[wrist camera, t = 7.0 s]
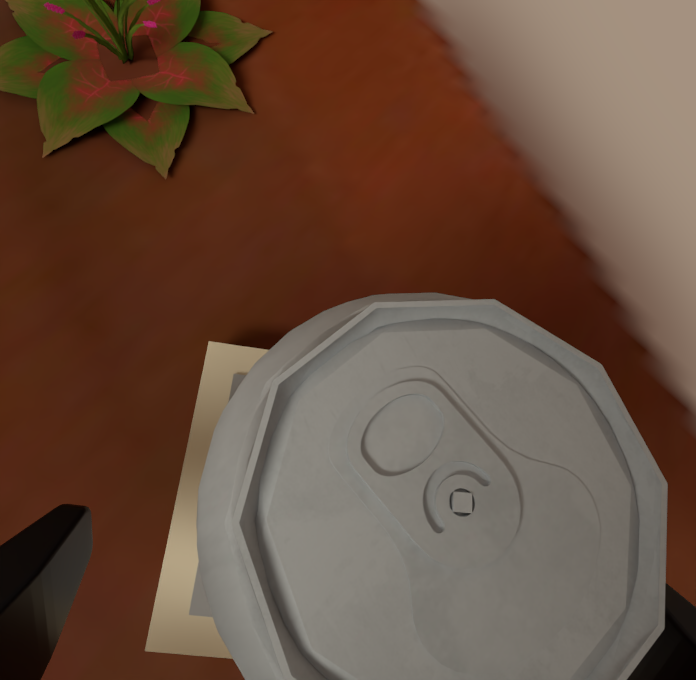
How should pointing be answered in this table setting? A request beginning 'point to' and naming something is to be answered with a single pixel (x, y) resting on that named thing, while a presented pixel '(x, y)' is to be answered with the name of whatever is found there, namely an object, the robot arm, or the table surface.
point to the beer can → (431, 503)
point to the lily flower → (118, 96)
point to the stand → (195, 518)
